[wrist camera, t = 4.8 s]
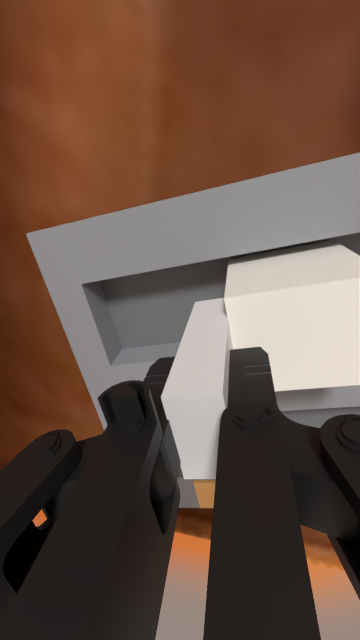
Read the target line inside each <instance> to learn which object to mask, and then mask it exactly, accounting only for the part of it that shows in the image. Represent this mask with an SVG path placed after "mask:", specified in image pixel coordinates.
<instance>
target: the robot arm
mask: <svg viewBox="0 0 360 640" xmlns="http://www.w3.org/2000/svg"><path fill="white" fill-rule="evenodd" d="M97 399H98V401H99V404H100V407H101V409H102V412H103V414H104V417H105V420H106V422H107V427H106V429H105V431H104V432H103V434H101V435H99V436H95V437H92V438H89V439H85V440H82V441H78V442H76V440H75V438H74V436H73V434H72V432H70V431H68V430H55V431H51V432H48V433H46V434H44V435H42V436H40V437H38V438H37V439H35V440H34V441H33V442H31V443H30V444H29V445H28V446H27V447H26V448H25V449H23V450H22V451H21V452H20V453H19V454H18V455H17V456H16V457H15V458H14V459H13V460H12V461H11V462H10V463H9V464H8V465H7V466H5V467H4V468H3V469H2V470H1V471H0V640H155V637H156V631H157V625H158V620H159V615H160V609H161V603H162V598H163V592H164V587H165V581H166V576H167V569H168V564H169V559H170V553H171V548H172V542H173V537H174V531H175V526H176V520H177V514H178V509H179V503H180V488H179V485H178V482H177V478H178V473H179V468H180V467H181V470H182V474H183V477H184V479H216V481H215V494H214V507H213V520H212V533H211V546H210V560H209V572H208V585H207V599H206V611H205V624H204V637H203V640H321V638H320V632H319V626H318V621H317V615H316V610H315V604H314V599H313V593H312V588H311V582H310V577H309V571H308V565H307V560H306V554H305V549H304V543H303V538H302V532H301V527H300V524H301V525H303V526H306V527H309V528H312V529H315V530H318V531H320V532H323V533H326V534H327V535H328V538H329V540H330V542H331V544H332V546H333V548H334V550H335V552H336V554H337V556H338V558H339V560H340V562H341V564H342V566H343V568H344V570H345V572H346V574H347V576H348V578H349V580H350V581H351V583H352V585H353V587H354V589H355V591H356V593H357V595H358V597H359V599H360V415H356V414H344V415H337V416H335V417H332V418H330V419H328V420H327V421H326V422H325V423H324V424H323V425H322V426H321V428H317V427H312V426H307V425H303V424H300V423H297V422H295V421H293V420H290V419H289V418H287V417H286V416H285V415H283V413H282V412H281V411H280V410H279V408H278V405H277V401H276V395H275V390H274V384H273V379H272V373H271V367H270V362H269V356H268V353H267V352H266V351H264V350H263V349H262V348H261V347H251V348H242V349H233V345H232V339H231V333H230V327H229V321H228V318H227V312H226V307H225V301H224V298H219V299H212V300H205V301H198V302H195V304H194V306H193V309H192V312H191V315H190V318H189V320H188V323H187V326H186V329H185V331H184V334H183V337H182V340H181V343H180V345H179V348H178V351H177V354H176V356H174V357H165V358H159V359H158V360H157V361H156V362H155V363H153V364H152V365H151V366H150V368H149V370H148V372H147V374H146V377H145V379H144V381H143V382H142V381H140V380H129V381H124V382H120V383H118V384H116V385H113V386H111V387H110V388H108V389H107V390H105V391H104V392H103V393H102V394H101V395H100V396H99V397H98V398H97ZM41 509H42V510H43V512H44V513H45V516H46V517H47V520H46V521H45V522H44V523H43V524H42V525H40V526H38V527H36V526H35V525H34V523H33V521H32V520H33V519H34V517H35V516H36V515H37V514H38V513H39V511H40V510H41Z"/></svg>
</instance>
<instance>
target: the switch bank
mask: <svg viewBox="0 0 360 640" xmlns="http://www.w3.org/2000/svg"><path fill="white" fill-rule="evenodd" d="M26 235H27V238H28V240H29V243H30V246H31V248H32V251H33V253H34V256H35V258H36V261H37V263H38V266H39V268H40V271H41V273H42V276H43V278H44V281H45V283H46V286H47V288H48V291H49V293H50V296H51V298H52V301H53V303H54V306H55V308H56V311H57V313H58V316H59V318H60V321H61V323H62V326H63V328H64V331H65V333H66V336H67V338H68V341H69V343H70V346H71V348H72V351H73V353H74V356H75V358H76V361H77V363H78V366H79V368H80V371H81V373H82V376H83V378H84V381H85V383H86V386H87V388H88V391H89V393H90V396H91V398H92V401H93V403H94V406H95V408H96V411H97V413H98V416H99V418H100V421H101V423H102V426H103V428H104V431H105V429H106V427H107V422H106V420H105V417H104V414H103V412H102V409H101V407H100V404H99V401H98V399H97V398H98V397H99V396H100V395H101V394H102V393H103V392H104V391H105V390H107V389H108V388H110V387H111V386H113V385H116V384H118V383H120V382H124V381H129V380H140V381H142V382H143V381H144V379H145V377H146V374H147V372H148V370H149V368H150V366H151V365H152V364H153V363H155V362H156V361H157V360H158V359H159V358H165V357H174V356H176V354H177V351H178V348H179V345H180V343H181V340H182V337H183V334H184V331H185V329H186V326H187V323H188V320H189V318H190V315H191V312H192V309H193V306H194V304H195V302H198V301H205V300H212V299H219V298H224V294H225V286H226V278H227V269H228V261H229V259H232V258H237V257H243V256H248V255H254V254H259V253H265V252H270V251H275V250H281V249H286V248H292V247H297V246H303V245H308V244H314V243H319V242H324V241H330V240H334V241H336V242H337V243H339V244H341V245H342V246H344V247H346V248H348V249H349V250H351V251H353V252H354V253H356V254H358V255H359V256H360V153H355V154H351V155H347V156H343V157H339V158H335V159H331V160H327V161H323V162H318V163H314V164H310V165H306V166H302V167H298V168H294V169H290V170H286V171H281V172H277V173H273V174H269V175H265V176H261V177H257V178H253V179H248V180H244V181H240V182H236V183H232V184H228V185H224V186H220V187H216V188H211V189H207V190H203V191H199V192H195V193H191V194H187V195H183V196H179V197H174V198H170V199H166V200H162V201H158V202H154V203H150V204H146V205H142V206H137V207H133V208H129V209H125V210H121V211H117V212H113V213H109V214H105V215H100V216H96V217H92V218H88V219H84V220H80V221H76V222H72V223H68V224H63V225H59V226H55V227H51V228H47V229H43V230H39V231H35V232H31V233H26ZM275 395H276V401H277V405H278V408H279V410H280V411H281V412H282V413H283V415H285V416H286V417H287V418H289V419H290V420H293V421H295V422H297V423H300V424H303V425H307V426H312V427H317V428H321V426H322V425H323V424H324V423H325V422H326V421H327V420H328V419H330V418H332V417H335V416H337V415H344V414H356V415H360V385H352V386H339V387H326V388H313V389H300V390H287V391H275ZM215 481H216V479H184V477H183V474H182V470H181V467H180V468H179V473H178V478H177V482H178V485H179V488H180V503H179V508H213V507H214V494H215Z"/></svg>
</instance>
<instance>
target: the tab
mask: <svg viewBox="0 0 360 640" xmlns="http://www.w3.org/2000/svg"><path fill="white" fill-rule="evenodd" d="M224 301H225V307H226V312H227V318H228V321H229V327H230V333H231V339H232V345H233V349H242V348H251V347H261V348H262V349H263V350H264V351H266V352H267V353H268V356H269V362H270V367H271V373H272V379H273V384H274V390H275V391H287V390H300V389H313V388H326V387H339V386H352V385H360V256H359V255H358V254H356V253H354V252H353V251H351V250H349V249H348V248H346V247H344V246H342V245H341V244H339V243H337V242H336V241H334V240H330V241H324V242H319V243H314V244H308V245H303V246H297V247H292V248H286V249H281V250H275V251H270V252H265V253H259V254H254V255H248V256H243V257H237V258H232V259H229V261H228V269H227V278H226V286H225V294H224Z"/></svg>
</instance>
